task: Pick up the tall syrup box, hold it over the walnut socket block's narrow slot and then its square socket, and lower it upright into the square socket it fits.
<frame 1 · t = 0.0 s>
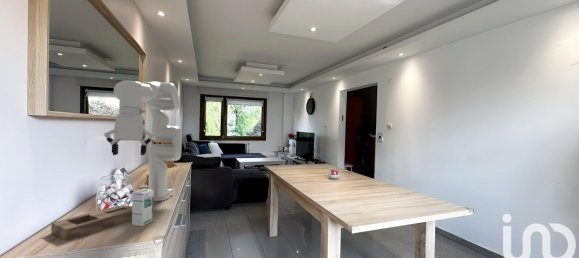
hand: (129, 154, 96), 31 cm above the table, tool pointing down, fingers open, 9 cm apart
syrup box: (142, 223, 105), on the table
socket block: (98, 224, 102), on the table
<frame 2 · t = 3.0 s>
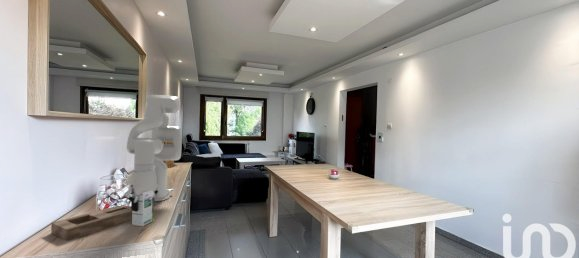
hand: (143, 208, 105), 7 cm above the table, tool pointing down, fingers closed on syrup box, 6 cm apart
syrup box: (142, 223, 105), on the table, touching gripper
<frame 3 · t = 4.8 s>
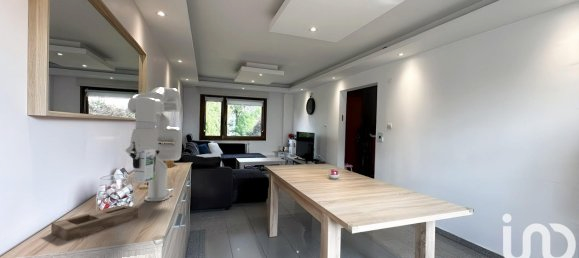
hand: (144, 166, 105), 25 cm above the table, tool pointing down, fingers closed on syrup box, 6 cm apart
syrup box: (144, 182, 105), point 18 cm above the table, touching gripper
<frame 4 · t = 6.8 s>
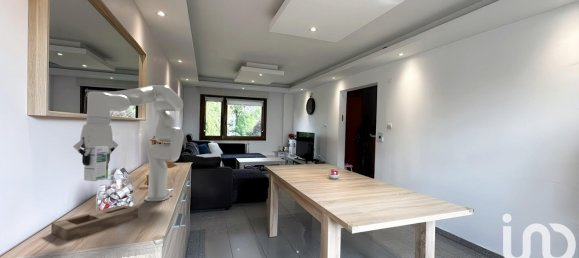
hand: (96, 163, 100), 26 cm above the table, tool pointing down, fingers closed on syrup box, 6 cm apart
syrup box: (95, 180, 100), point 19 cm above the table, touching gripper
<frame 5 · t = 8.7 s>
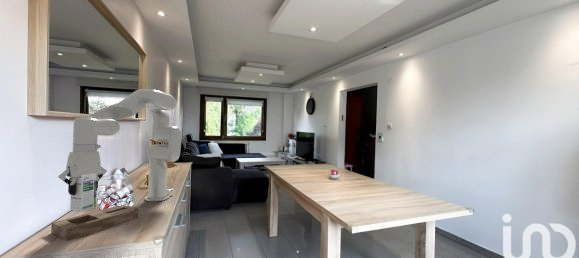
hand: (83, 192, 97), 15 cm above the table, tool pointing down, fingers closed on syrup box, 6 cm apart
syrup box: (82, 209, 97), point 8 cm above the table, touching gripper
when the fingers open (7 cm above the table, at t = 10.6 s): syrup box stays where it is, resting in socket block.
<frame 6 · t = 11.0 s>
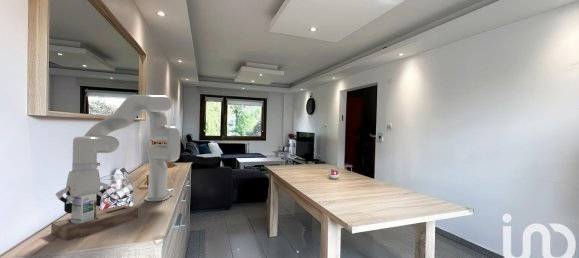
hand: (83, 209, 97), 8 cm above the table, tool pointing down, fingers open, 9 cm apart
syrup box: (83, 229, 97), resting in socket block
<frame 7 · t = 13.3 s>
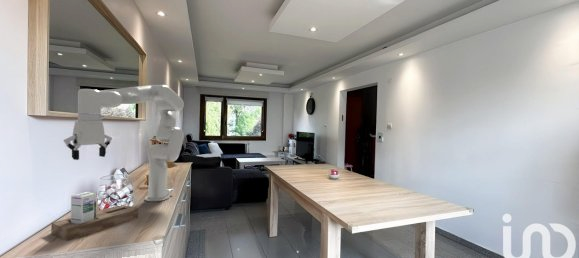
hand: (89, 157, 103), 28 cm above the table, tool pointing down, fingers open, 9 cm apart
nothing on the table moved.
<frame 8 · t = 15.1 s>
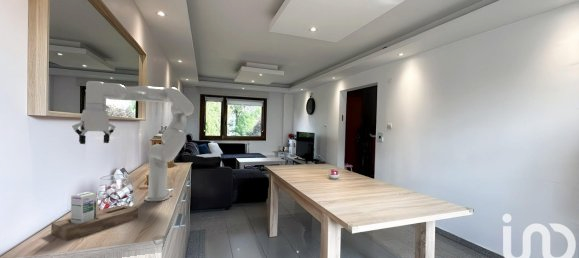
hand: (94, 143, 114), 33 cm above the table, tool pointing down, fingers open, 9 cm apart
nothing on the table moved.
at the end: syrup box 0.2 cm from the target spot on the socket block, point 0.0 cm above the socket block's base; syrup box tilted 0°; the gripper is holding nothing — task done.
